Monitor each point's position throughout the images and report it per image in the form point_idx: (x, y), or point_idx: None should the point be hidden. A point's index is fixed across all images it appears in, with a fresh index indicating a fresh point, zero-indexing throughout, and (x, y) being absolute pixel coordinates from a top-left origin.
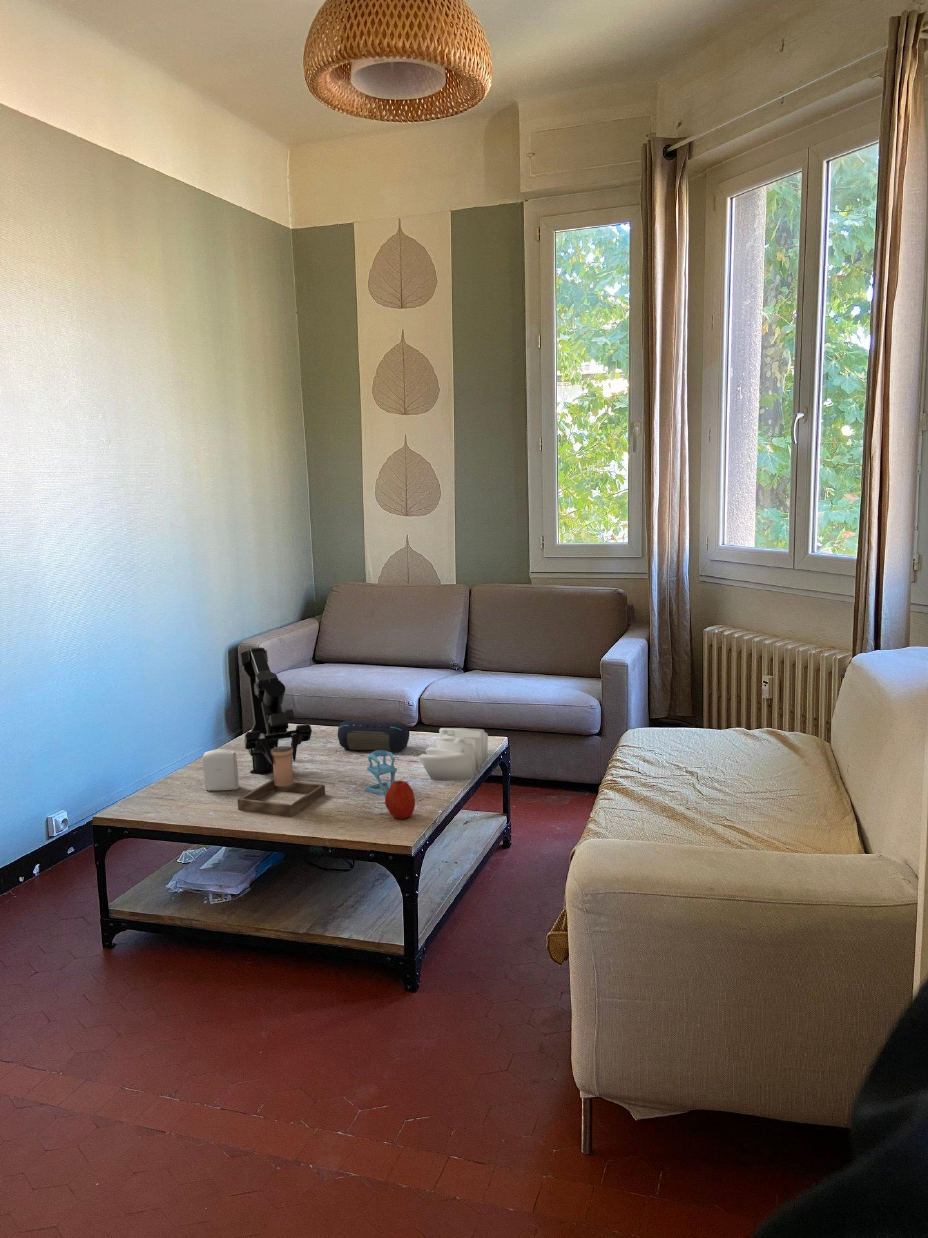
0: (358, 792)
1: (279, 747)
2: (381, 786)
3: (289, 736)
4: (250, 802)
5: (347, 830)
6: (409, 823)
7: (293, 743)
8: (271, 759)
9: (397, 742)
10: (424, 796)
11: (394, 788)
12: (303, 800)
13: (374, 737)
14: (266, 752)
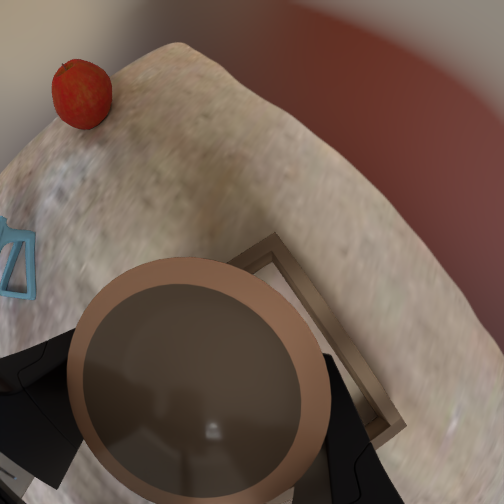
0: (49, 297)
1: (171, 481)
2: (22, 231)
3: (3, 489)
4: (380, 384)
5: (207, 100)
6: (112, 91)
7: (25, 379)
8: (330, 374)
9: None
10: (16, 186)
11: (84, 62)
12: None
13: None
14: (371, 447)
